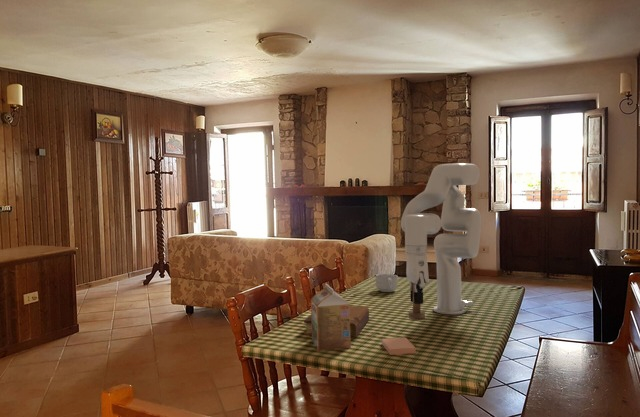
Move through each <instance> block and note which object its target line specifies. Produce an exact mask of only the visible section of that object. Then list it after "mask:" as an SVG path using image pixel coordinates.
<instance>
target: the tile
mask: <svg viewBox="0 0 640 417" xmlns="http://www.w3.org/2000/svg"><path fill="white" fill-rule="evenodd" d="M381 345H382V346H383V348H384V349H385V350H386V352H387V353H388V354H389V355H391V356H392V355H407V354H416V350H417V348H416V346H415V345H413V344H412V342H411V341H410V340H409V339H408V338H407V337H406V336H405V337H392V338H381Z"/></svg>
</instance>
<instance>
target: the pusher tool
mask: <svg viewBox="0 0 640 417" xmlns="http://www.w3.org/2000/svg"><path fill="white" fill-rule="evenodd" d="M418 283H420V282H418ZM418 286H419V285H417V287H418ZM414 292H415V286H414V283H413V302H412V310H410V311H408V319H410V320H411V321H423V320H425V319H426V312H425V311H423V310H421V304H414Z"/></svg>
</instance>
